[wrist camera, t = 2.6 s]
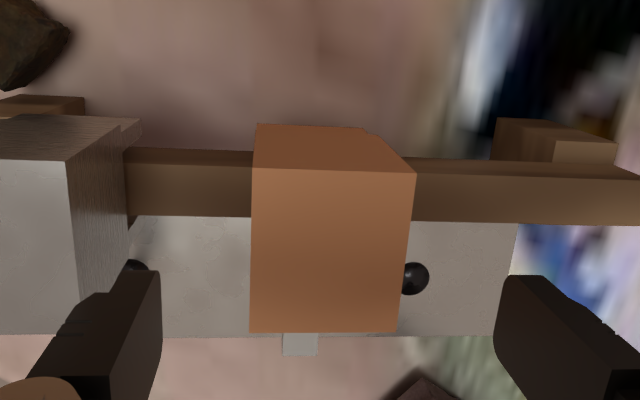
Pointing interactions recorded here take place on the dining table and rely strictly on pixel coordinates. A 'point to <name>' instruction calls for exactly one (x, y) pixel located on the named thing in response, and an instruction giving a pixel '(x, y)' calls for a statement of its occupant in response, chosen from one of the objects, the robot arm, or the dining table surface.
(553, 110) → the dining table surface
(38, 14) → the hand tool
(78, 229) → the block
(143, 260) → the bolt plate
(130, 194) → the beam
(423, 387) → the hammer
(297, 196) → the block
